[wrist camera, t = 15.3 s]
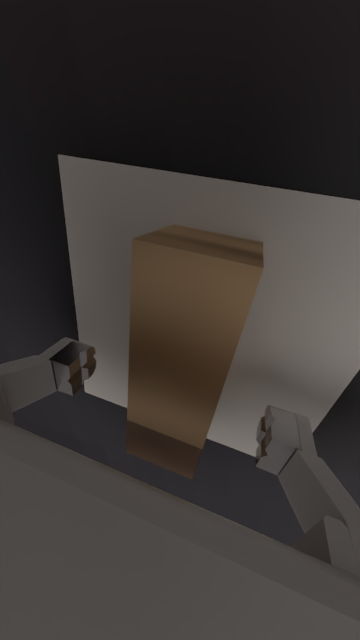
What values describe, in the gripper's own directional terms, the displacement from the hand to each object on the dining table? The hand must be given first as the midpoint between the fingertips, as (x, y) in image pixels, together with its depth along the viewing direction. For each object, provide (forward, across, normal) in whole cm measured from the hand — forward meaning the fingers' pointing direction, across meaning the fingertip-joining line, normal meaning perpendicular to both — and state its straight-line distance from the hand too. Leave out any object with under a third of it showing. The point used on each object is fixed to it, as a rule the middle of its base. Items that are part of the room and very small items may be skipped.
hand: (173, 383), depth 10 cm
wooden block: (+3, 0, 0) cm, 3 cm away
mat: (+4, 0, 0) cm, 4 cm away
